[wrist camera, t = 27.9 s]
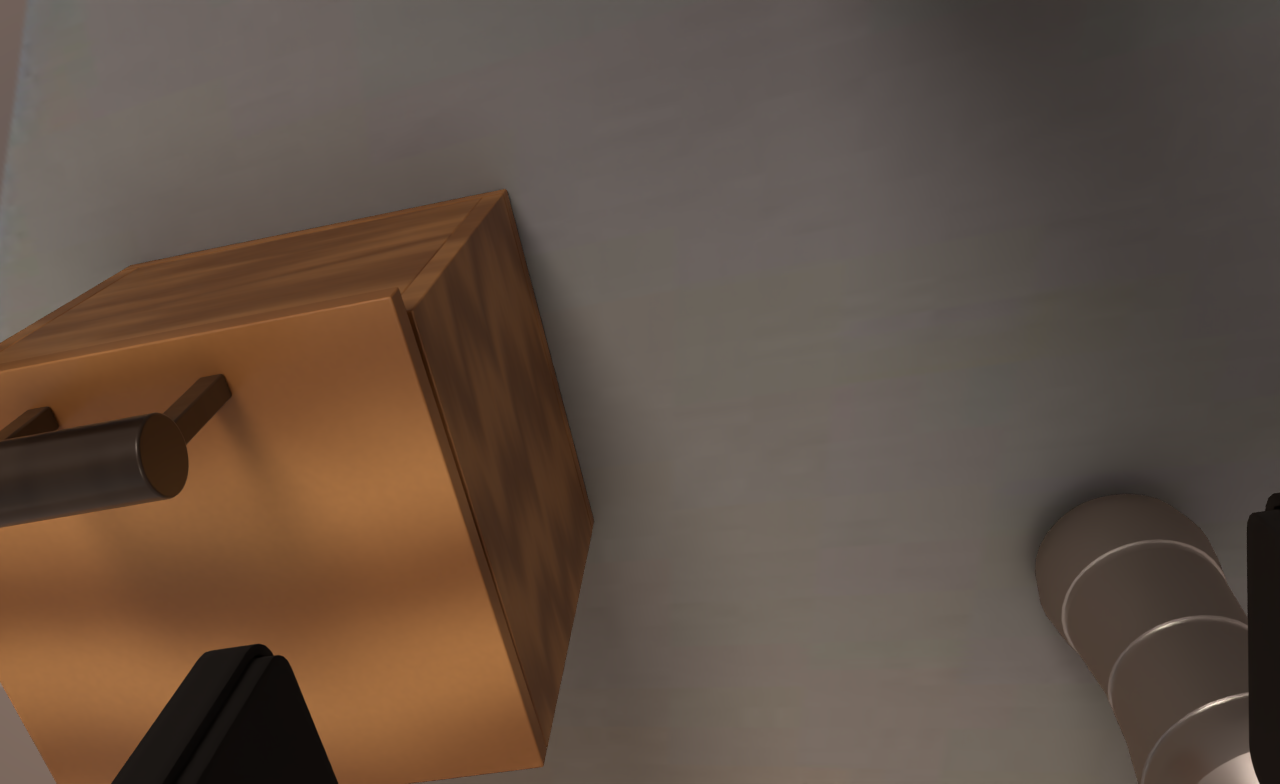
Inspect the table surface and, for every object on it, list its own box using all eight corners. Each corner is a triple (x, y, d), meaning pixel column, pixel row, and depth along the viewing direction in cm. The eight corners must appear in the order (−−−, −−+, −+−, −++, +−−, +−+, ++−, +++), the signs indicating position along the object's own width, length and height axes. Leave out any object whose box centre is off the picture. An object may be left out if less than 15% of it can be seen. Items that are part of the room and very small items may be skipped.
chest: (129, 265, 44) (-113, 409, 31) (506, 188, 42) (412, 310, 29) (255, 575, 50) (92, 806, 37) (594, 522, 47) (548, 748, 35)
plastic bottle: (994, 523, 46) (1175, 926, 28) (1149, 444, 44) (1452, 819, 26) (1064, 634, 48) (1276, 1079, 30) (1216, 563, 46) (1543, 991, 28)
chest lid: (-137, 389, 31) (-313, 494, 25) (399, 285, 28) (327, 377, 23) (91, 807, 37) (-13, 962, 31) (547, 749, 35) (517, 905, 29)
